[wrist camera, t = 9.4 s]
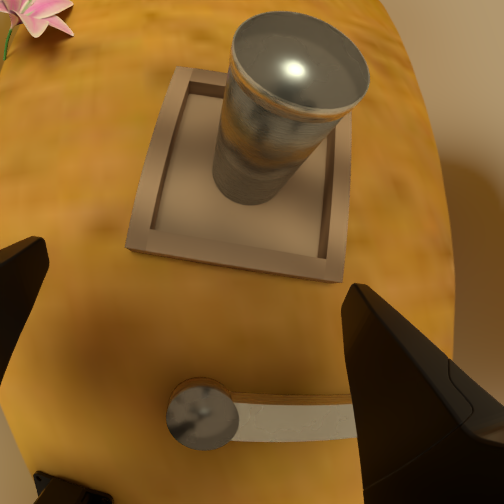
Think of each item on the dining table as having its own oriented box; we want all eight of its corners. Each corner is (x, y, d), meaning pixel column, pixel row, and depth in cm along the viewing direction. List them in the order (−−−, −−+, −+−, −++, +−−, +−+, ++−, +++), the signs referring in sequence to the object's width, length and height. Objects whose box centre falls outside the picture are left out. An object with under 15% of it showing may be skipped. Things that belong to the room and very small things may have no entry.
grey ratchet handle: (378, 383, 19) (395, 391, 17) (366, 432, 18) (382, 443, 16) (171, 372, 17) (168, 383, 15) (167, 429, 16) (164, 445, 14)
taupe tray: (326, 283, 20) (342, 282, 18) (133, 252, 18) (124, 247, 16) (338, 120, 22) (351, 105, 19) (177, 85, 20) (176, 66, 17)
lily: (47, 99, 18) (70, -5, 11) (-57, 92, 12) (-57, -2, 5) (84, 38, 23) (112, -37, 16) (-2, 30, 17) (13, -43, 10)
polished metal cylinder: (281, 212, 19) (374, 129, 8) (205, 199, 18) (219, 89, 8) (287, 146, 20) (364, 34, 9) (218, 132, 19) (243, 0, 8)
